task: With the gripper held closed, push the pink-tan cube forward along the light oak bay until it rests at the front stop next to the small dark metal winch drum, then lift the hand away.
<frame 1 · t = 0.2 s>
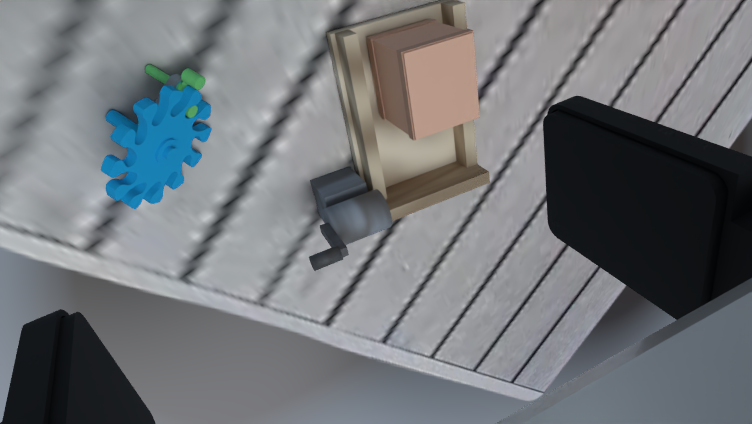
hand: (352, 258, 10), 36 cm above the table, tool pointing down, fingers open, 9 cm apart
gear: (159, 124, 43), on the table
pink-tan cube: (422, 77, 45), point 5 cm above the table, slide at 0.0 cm
bay: (404, 106, 51), on the table
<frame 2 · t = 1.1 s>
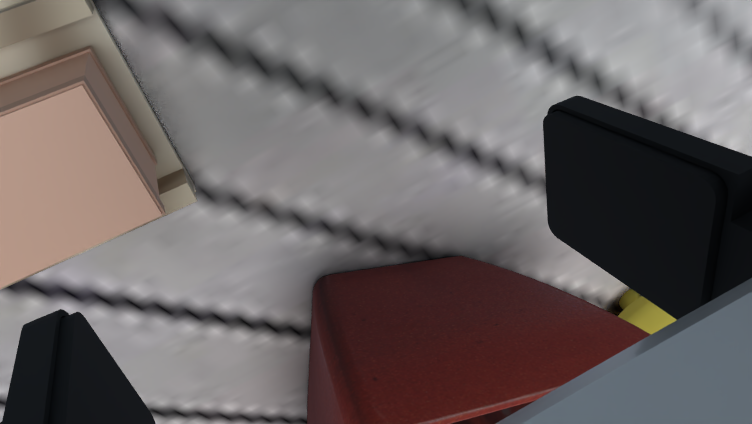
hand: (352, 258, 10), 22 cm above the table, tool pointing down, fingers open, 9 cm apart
pink-tan cube: (45, 159, 23), point 5 cm above the table, slide at 0.0 cm
plant pot: (384, 327, 43), on the table
teapot: (633, 323, 57), on the table
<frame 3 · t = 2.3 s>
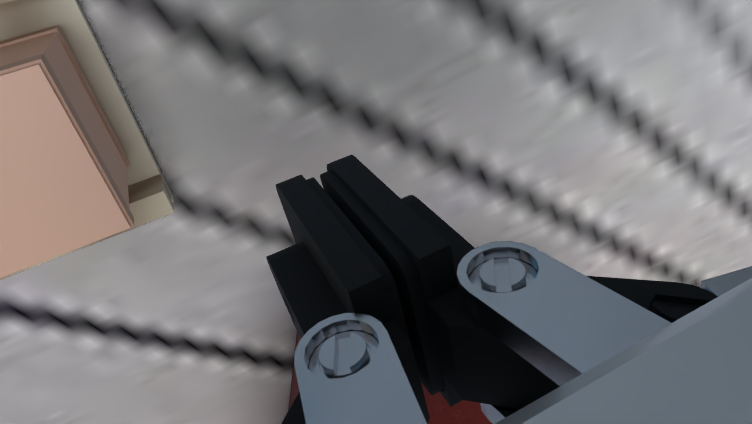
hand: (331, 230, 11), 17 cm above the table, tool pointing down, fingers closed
plant pot: (374, 360, 39), on the table
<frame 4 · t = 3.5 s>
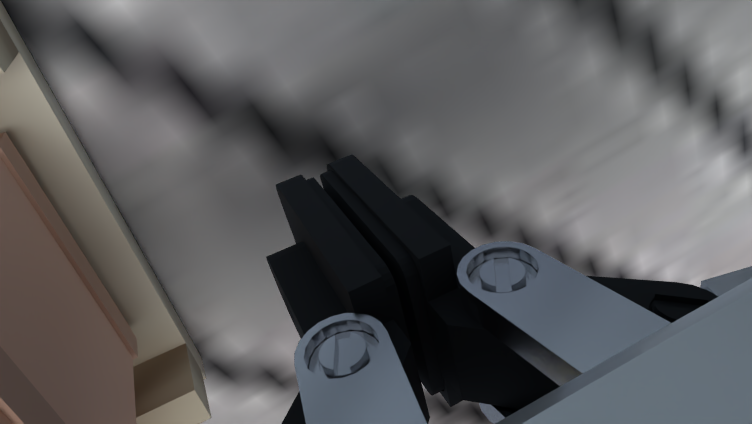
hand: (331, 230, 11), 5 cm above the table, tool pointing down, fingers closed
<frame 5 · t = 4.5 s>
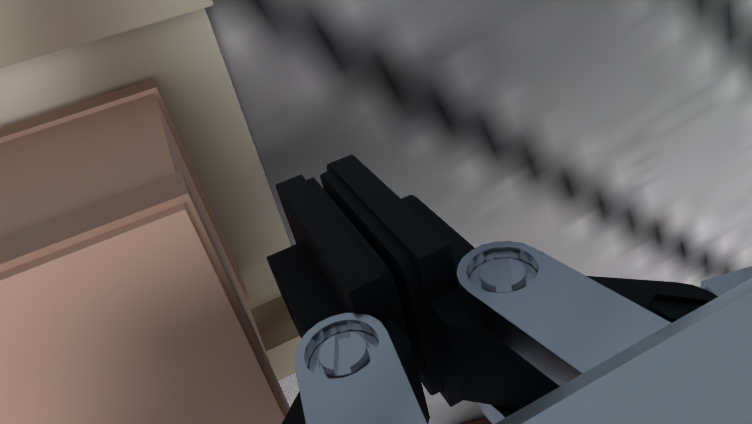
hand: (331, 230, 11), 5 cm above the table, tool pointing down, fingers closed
pink-tan cube: (46, 329, 10), point 5 cm above the table, slide at 0.8 cm, touching gripper
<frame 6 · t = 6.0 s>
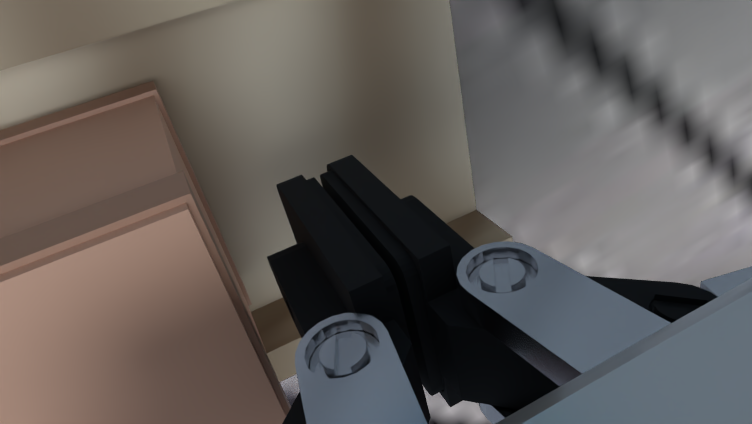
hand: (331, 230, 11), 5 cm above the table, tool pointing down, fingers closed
pink-tan cube: (46, 332, 10), point 5 cm above the table, slide at 7.1 cm, touching gripper
bay: (178, 180, 15), on the table
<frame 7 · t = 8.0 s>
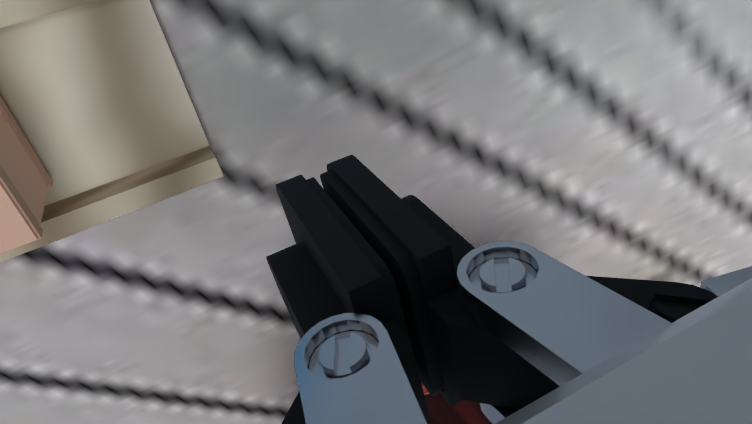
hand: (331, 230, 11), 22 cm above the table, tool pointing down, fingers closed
bay: (10, 121, 27), on the table
plant pot: (384, 322, 44), on the table
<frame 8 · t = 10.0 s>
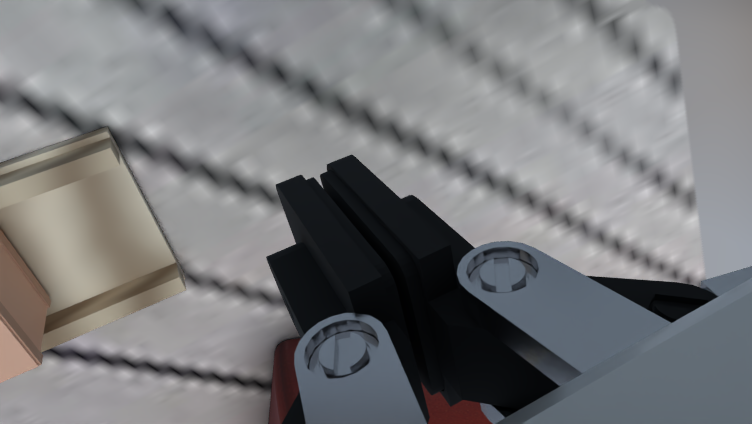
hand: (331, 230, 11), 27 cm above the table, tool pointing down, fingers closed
bay: (18, 255, 35), on the table
plant pot: (334, 381, 52), on the table
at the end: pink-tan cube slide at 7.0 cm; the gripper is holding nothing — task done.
